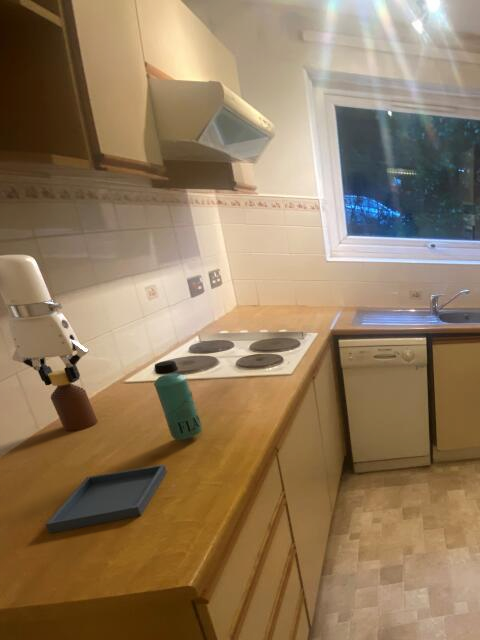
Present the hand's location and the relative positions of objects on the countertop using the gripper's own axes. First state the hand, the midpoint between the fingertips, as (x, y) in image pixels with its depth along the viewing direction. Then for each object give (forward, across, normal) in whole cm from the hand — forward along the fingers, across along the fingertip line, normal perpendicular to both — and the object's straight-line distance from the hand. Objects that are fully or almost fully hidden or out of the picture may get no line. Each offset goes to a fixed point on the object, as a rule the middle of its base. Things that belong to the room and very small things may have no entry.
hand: (62, 381), depth 108 cm
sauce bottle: (+12, 0, 0) cm, 12 cm away
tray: (+12, -21, +41) cm, 48 cm away
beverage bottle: (+13, -28, +18) cm, 36 cm away
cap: (-2, 0, 0) cm, 2 cm away
